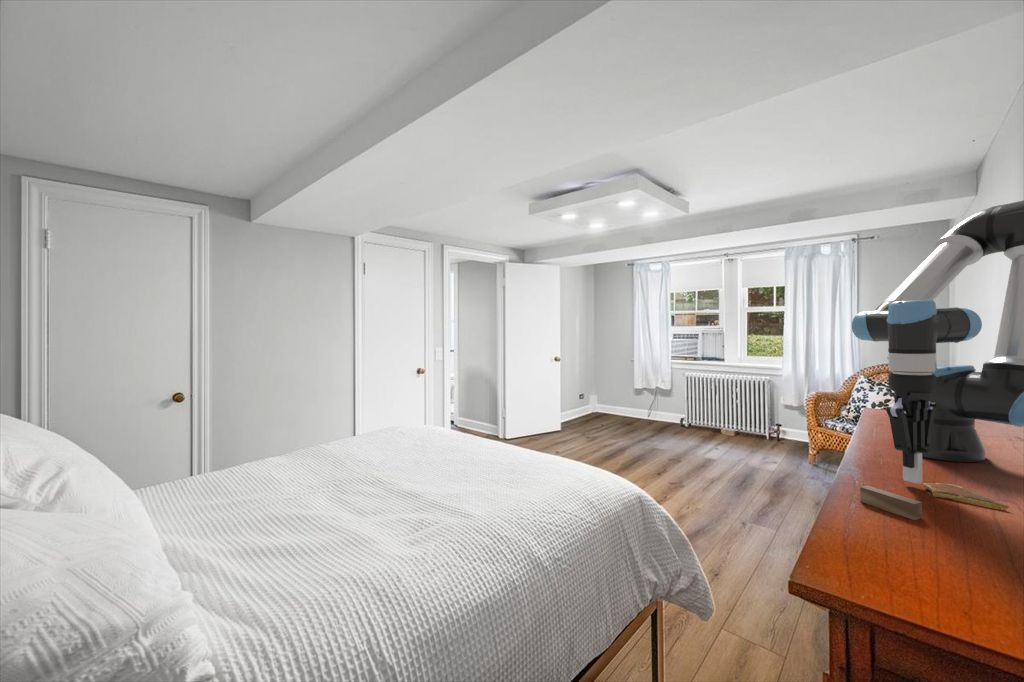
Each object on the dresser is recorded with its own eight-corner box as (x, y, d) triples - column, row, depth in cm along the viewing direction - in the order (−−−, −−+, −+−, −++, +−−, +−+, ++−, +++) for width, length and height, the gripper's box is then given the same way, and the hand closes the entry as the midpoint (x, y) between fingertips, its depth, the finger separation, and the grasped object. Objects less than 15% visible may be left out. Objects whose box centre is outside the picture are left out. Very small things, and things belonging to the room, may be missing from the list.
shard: (1009, 514, 79) (1009, 504, 79) (961, 512, 80) (961, 503, 80) (958, 491, 90) (958, 483, 90) (917, 490, 91) (917, 482, 91)
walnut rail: (867, 499, 86) (867, 485, 86) (921, 518, 78) (921, 502, 78) (860, 501, 86) (860, 487, 86) (914, 520, 77) (914, 504, 77)
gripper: (910, 369, 97) (911, 471, 97) (871, 373, 92) (872, 480, 93) (953, 371, 90) (953, 482, 90) (913, 376, 85) (914, 492, 86)
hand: (912, 481), depth 92 cm, fingers closed
